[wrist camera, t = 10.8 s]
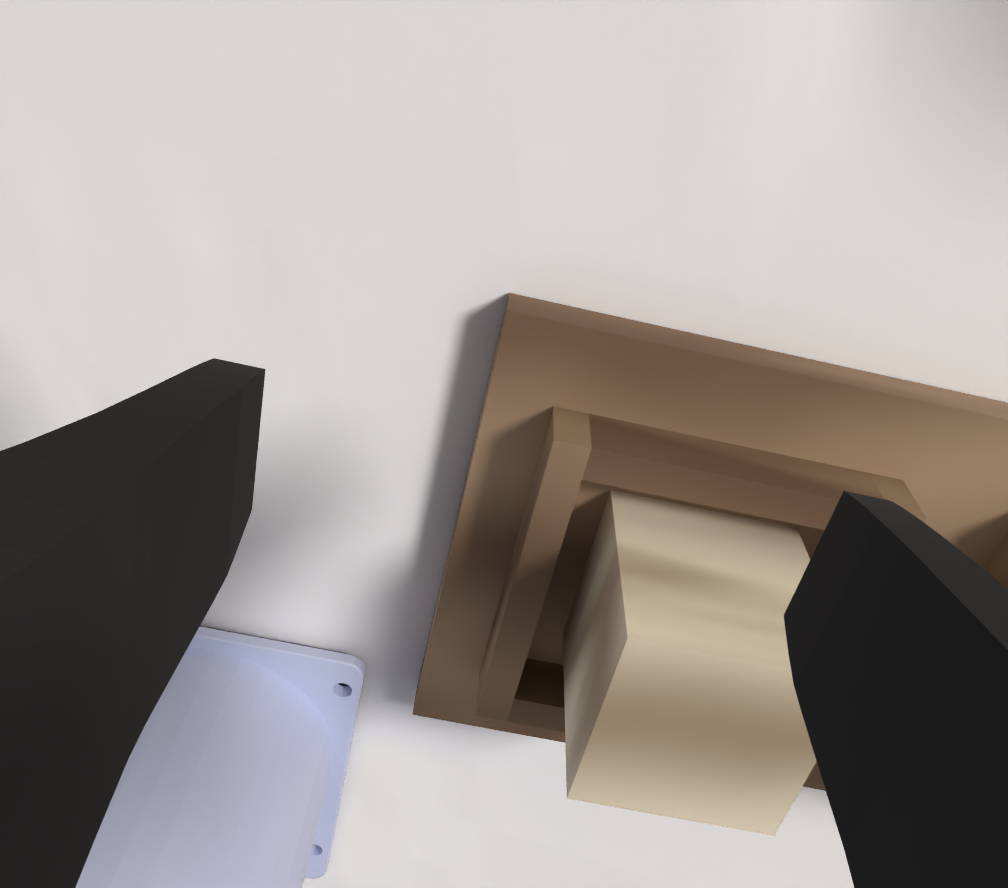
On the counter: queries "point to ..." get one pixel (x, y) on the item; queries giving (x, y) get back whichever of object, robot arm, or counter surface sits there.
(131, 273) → the counter surface
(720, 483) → the puzzle board
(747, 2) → the counter surface
